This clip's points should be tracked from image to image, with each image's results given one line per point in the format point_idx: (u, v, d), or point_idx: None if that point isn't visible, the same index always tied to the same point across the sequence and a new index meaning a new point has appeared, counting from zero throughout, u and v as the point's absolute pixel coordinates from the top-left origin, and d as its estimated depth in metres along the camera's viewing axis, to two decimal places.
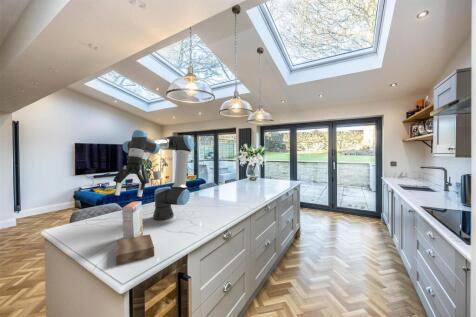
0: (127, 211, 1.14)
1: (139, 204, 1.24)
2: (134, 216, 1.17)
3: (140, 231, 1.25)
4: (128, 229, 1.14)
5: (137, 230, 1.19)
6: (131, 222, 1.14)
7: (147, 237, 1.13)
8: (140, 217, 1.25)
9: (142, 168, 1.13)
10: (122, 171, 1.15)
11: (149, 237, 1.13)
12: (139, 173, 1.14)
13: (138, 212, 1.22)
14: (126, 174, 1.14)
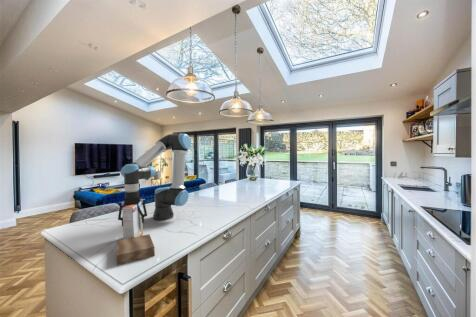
0: (127, 211, 1.14)
1: (139, 204, 1.24)
2: (134, 216, 1.17)
3: (140, 231, 1.25)
4: (128, 229, 1.14)
5: (137, 230, 1.19)
6: (131, 222, 1.14)
7: (147, 237, 1.13)
8: None
9: (144, 202, 1.23)
10: (121, 207, 1.18)
11: (149, 237, 1.13)
12: (138, 206, 1.23)
13: (138, 212, 1.22)
14: None
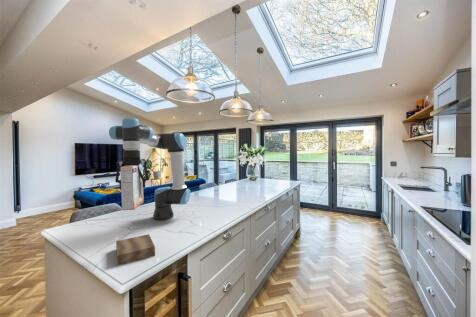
0: (126, 171, 0.97)
1: (140, 167, 1.08)
2: (135, 178, 1.00)
3: (141, 197, 1.08)
4: (127, 191, 0.98)
5: (137, 195, 1.03)
6: (131, 184, 0.98)
7: (147, 237, 1.13)
8: None
9: (145, 164, 1.06)
10: (119, 168, 1.02)
11: (149, 237, 1.13)
12: (139, 169, 1.06)
13: (138, 175, 1.05)
14: None
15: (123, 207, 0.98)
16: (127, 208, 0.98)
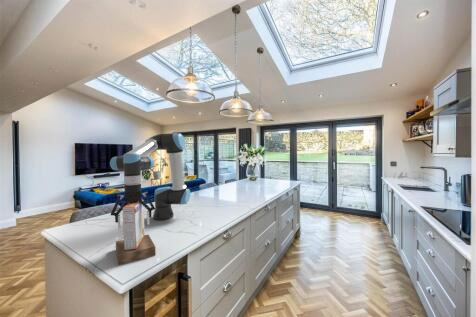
0: (128, 211, 0.98)
1: None
2: (137, 217, 1.01)
3: (142, 233, 1.09)
4: (129, 232, 0.98)
5: (139, 233, 1.03)
6: (133, 224, 0.98)
7: (146, 237, 1.13)
8: (142, 218, 1.09)
9: (147, 195, 1.07)
10: None
11: (148, 237, 1.13)
12: None
13: (140, 212, 1.06)
14: (126, 204, 1.03)
15: (125, 247, 0.98)
16: (129, 248, 0.99)
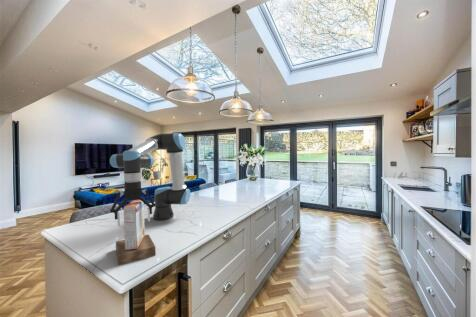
0: (129, 211, 0.98)
1: (142, 203, 1.09)
2: (137, 217, 1.01)
3: (143, 233, 1.09)
4: (130, 231, 0.99)
5: (139, 233, 1.04)
6: (134, 224, 0.99)
7: (147, 237, 1.13)
8: (142, 218, 1.09)
9: (147, 192, 1.07)
10: (118, 199, 1.02)
11: (148, 237, 1.13)
12: (142, 197, 1.07)
13: (140, 212, 1.06)
14: (125, 201, 1.03)
15: (126, 247, 0.99)
16: (130, 248, 0.99)
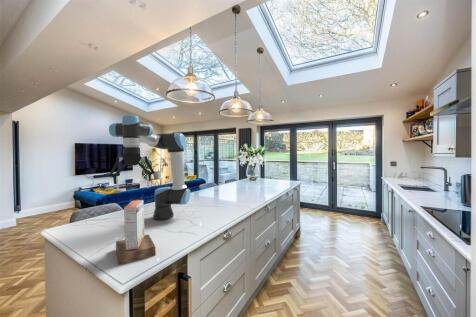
0: (130, 211, 0.98)
1: (142, 203, 1.09)
2: (138, 217, 1.01)
3: (143, 233, 1.09)
4: (131, 231, 0.98)
5: (140, 233, 1.04)
6: (135, 224, 0.99)
7: (147, 237, 1.13)
8: (142, 218, 1.09)
9: (146, 159, 1.06)
10: (117, 164, 1.01)
11: (148, 237, 1.13)
12: (141, 164, 1.06)
13: (141, 212, 1.06)
14: None
15: (127, 247, 0.98)
16: (131, 248, 0.99)
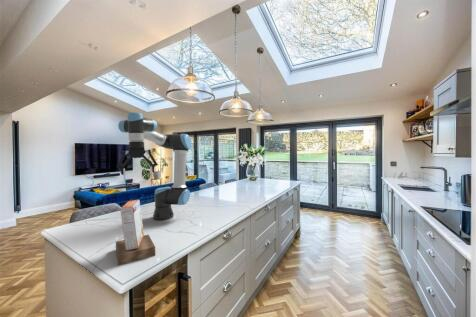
0: (127, 211, 0.98)
1: (138, 203, 1.08)
2: (135, 216, 1.01)
3: (142, 233, 1.09)
4: (129, 231, 0.98)
5: (139, 232, 1.04)
6: (133, 224, 0.98)
7: (146, 237, 1.13)
8: (140, 218, 1.09)
9: (149, 152, 1.18)
10: (124, 156, 1.12)
11: (148, 237, 1.13)
12: (145, 157, 1.18)
13: (138, 212, 1.06)
14: (130, 159, 1.14)
15: (127, 247, 0.98)
16: (131, 248, 0.99)
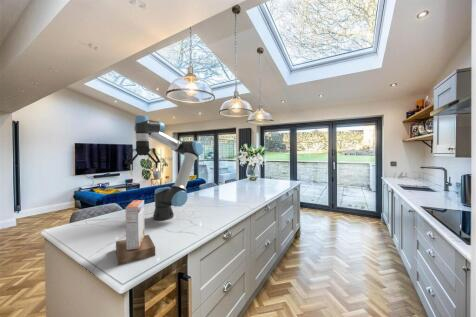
0: (131, 211, 0.98)
1: (142, 203, 1.09)
2: (139, 217, 1.01)
3: (143, 234, 1.09)
4: (132, 231, 0.99)
5: (140, 233, 1.04)
6: (136, 224, 0.99)
7: (147, 237, 1.13)
8: (143, 218, 1.09)
9: (153, 150, 1.33)
10: (131, 154, 1.28)
11: (148, 237, 1.13)
12: None
13: (142, 212, 1.06)
14: None
15: (127, 247, 0.99)
16: (132, 248, 0.99)
